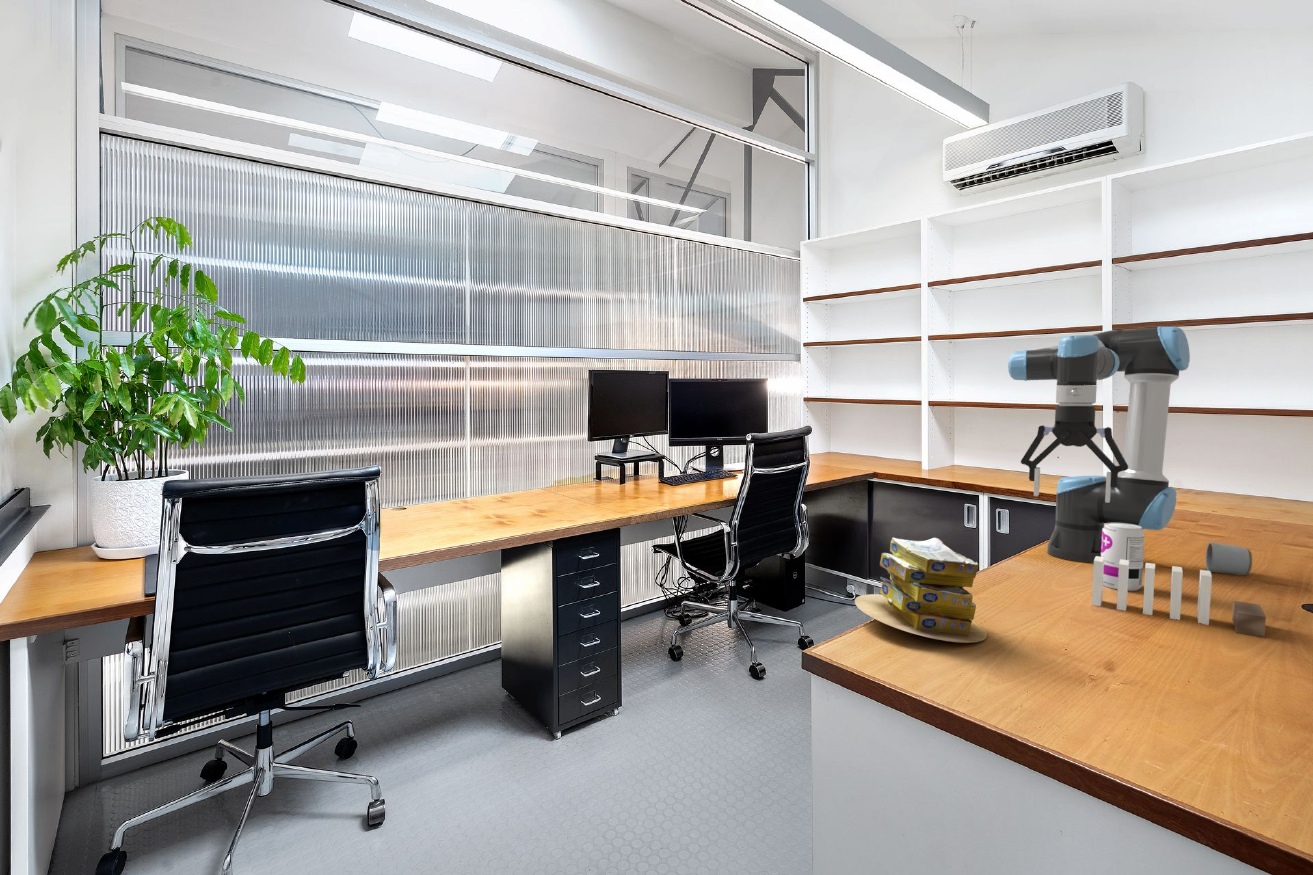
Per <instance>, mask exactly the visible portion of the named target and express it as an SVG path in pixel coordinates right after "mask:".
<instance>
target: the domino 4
mask: <svg viewBox="0 0 1313 875" xmlns="http://www.w3.org/2000/svg"><path fill="white" fill-rule="evenodd" d="M1183 573H1184V572H1183V567H1180V566H1173V565H1172V568H1171V584H1170V586H1171V587H1170V599H1169V600H1170V601H1169V603H1170V604H1169V619H1172V620H1176V619H1177V621H1180V620H1181V610H1182V609H1181V608H1182V590H1183V589H1182V588H1183Z"/></svg>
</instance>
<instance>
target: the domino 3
mask: <svg viewBox="0 0 1313 875" xmlns="http://www.w3.org/2000/svg"><path fill="white" fill-rule="evenodd" d="M1144 569H1145V570H1144V584H1143V603H1142V604H1143V605H1142V615H1148V616H1153V612H1154V611H1153V609H1154V596H1155V595H1154V593H1155V592H1154V591H1155V590H1154V588H1155V574H1156V573H1155V572H1156V563H1152V562H1151V563H1150V562H1145V567H1144Z"/></svg>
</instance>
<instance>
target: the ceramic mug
mask: <svg viewBox="0 0 1313 875" xmlns="http://www.w3.org/2000/svg"><path fill="white" fill-rule="evenodd" d="M1205 551H1206V553H1205V568H1206V571H1210V572H1211V573H1220V574H1228V575H1237V576H1247V575H1249V574H1250V573H1251V570H1252V566H1253V554H1252V552H1251V550H1250V549H1248V548H1246V547H1242V546H1236V545H1231V544H1224V543H1218V542H1213V541H1212V542H1209V543H1208V544H1207V547H1206V550H1205Z"/></svg>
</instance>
